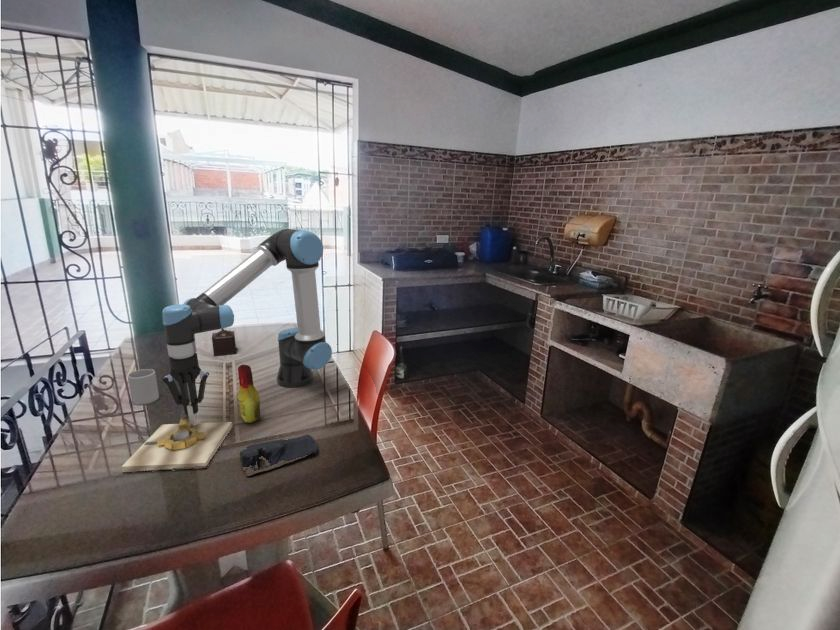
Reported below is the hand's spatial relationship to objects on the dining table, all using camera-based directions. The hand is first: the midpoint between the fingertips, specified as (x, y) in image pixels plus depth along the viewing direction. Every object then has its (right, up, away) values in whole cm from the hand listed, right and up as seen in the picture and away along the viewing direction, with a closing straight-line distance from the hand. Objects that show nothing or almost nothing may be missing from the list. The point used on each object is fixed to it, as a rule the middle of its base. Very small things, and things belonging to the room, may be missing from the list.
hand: (193, 422), depth 127 cm
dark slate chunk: (+32, -8, -8) cm, 34 cm away
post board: (+1, -6, -7) cm, 9 cm away
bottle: (+14, -2, +11) cm, 18 cm away
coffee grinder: (-26, +17, +74) cm, 80 cm away
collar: (0, -3, -4) cm, 5 cm away
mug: (-31, +3, +23) cm, 39 cm away
